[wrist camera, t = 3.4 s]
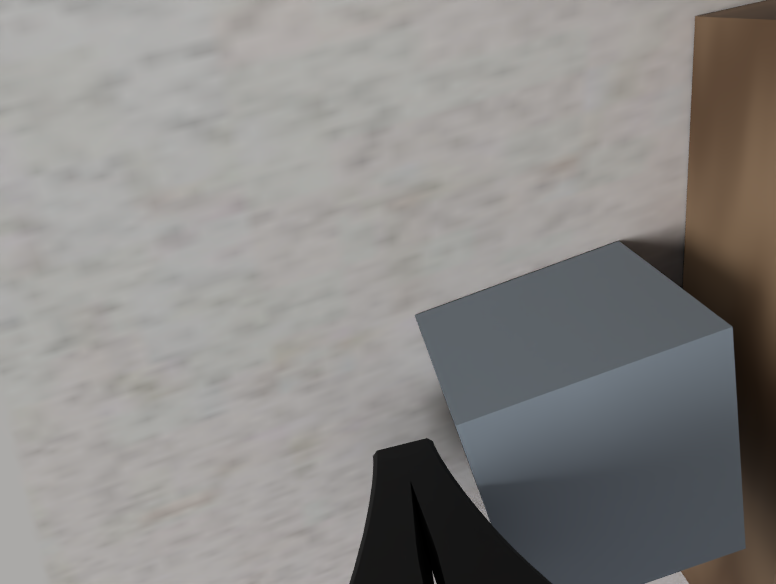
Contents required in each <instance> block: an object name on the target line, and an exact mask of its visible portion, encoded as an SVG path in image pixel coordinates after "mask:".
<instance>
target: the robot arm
mask: <svg viewBox="0 0 776 584" xmlns="http://www.w3.org/2000/svg"><path fill="white" fill-rule="evenodd" d="M432 571H433V573H432ZM433 574H434V577H435V580H436V583H437V584H552V583H551V582H550V581H549V580H548V579H546V578H545V577H544V576H543V575H542V574H541V573H540V572H539V571H538V570H536V569H535V568H534V567H533V566H532V565H531V564H530V563H529V562H528V561H527V560H526V559H525V558H524V557H522V556H521V555H520V554H519V553H518V552H517V551H516V550H515V549H514V548H513V547H512V546H511V545H510V544H509V543H508V542H507V541H506V540H505V539H504V538H503V536H502V535H501V534H500V533H499V532H498V531H497V530H496V529H495V528H494V527H493V526H492V524H491V523H490V522H489V521H488V520H487V519H486V518H485V517H484V515H483V514H482V513H481V512H480V511H479V510H478V508H477V507H476V506H475V505H474V503H473V502H472V501H471V500H470V498H469V497H468V496H467V495H466V493H465V492H464V491H463V489H462V488H461V487H460V485H459V484H458V483H457V481H456V480H455V479H454V477H453V476H452V474H451V473H450V471H449V470H448V468H447V467H446V465H445V464H444V462H443V460H442V459H441V457H440V455H439V453H438V452H437V450H436V448H435V446H434V443H433V441H431V440H429V439H428V438H426V439H422V440H418V441H414V442H410V443H406V444H402V445H398V446H394V447H390V448H386V449H382V450H378V451H376V453H375V454H374V455H373V480H372V489H371V496H370V502H369V508H368V513H367V518H366V523H365V528H364V533H363V537H362V541H361V544H360V548H359V552H358V556H357V560H356V563H355V567H354V570H353V574H352V577H351V580H350V583H349V584H434V580H433Z"/></svg>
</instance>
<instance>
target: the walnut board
mask: <svg viewBox="0 0 776 584" xmlns="http://www.w3.org/2000/svg"><path fill="white" fill-rule="evenodd" d="M683 290H685V291H686V292H687V293H689V294H690V295H691V296H693V297H694V298H695V299H697V300H698V301H699V302H701V303H702V304H703V305H705V306H706V307H707V308H708V309H710V310H711V311H712V312H714V313H715V314H716V315H718V316H719V317H720V318H722V319H723V320H724V321H726V322H727V323H728V324H730V325H731V326H732V327H733V342H734V359H735V376H736V393H737V409H738V426H739V443H740V460H741V477H742V494H743V511H744V528H745V545H746V549H743V550H740V551H737V552H734V553H731V554H728V555H725V556H723V557H720V558H717V559H714V560H711V561H708V562H705V563H702V564H699V565H697V566H694V567H691V568H688V569H685V570H682V571H681V572H682V574H683V575H684V577H685V578H686V580H687V581H688V583H689V584H776V0H766V1H761V2H757V3H753V4H748V5H744V6H739V7H735V8H730V9H726V10H721V11H717V12H713V13H708V14H704V15H699V16H695V34H694V56H693V77H692V99H691V120H690V142H689V163H688V185H687V206H686V228H685V249H684V271H683Z"/></svg>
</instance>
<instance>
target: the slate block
mask: <svg viewBox="0 0 776 584" xmlns="http://www.w3.org/2000/svg"><path fill="white" fill-rule="evenodd" d="M415 317H416V320H417V322H418V325H419V328H420V331H421V333H422V336H423V339H424V342H425V344H426V347H427V350H428V353H429V355H430V358H431V361H432V364H433V366H434V369H435V372H436V375H437V377H438V380H439V383H440V386H441V388H442V391H443V394H444V396H445V399H446V402H447V405H448V407H449V410H450V413H451V416H452V418H453V421H454V424H455V427H456V429H457V432H458V435H459V438H460V440H461V443H462V446H463V449H464V451H465V454H466V457H467V460H468V462H469V465H470V468H471V470H472V473H473V476H474V479H475V481H476V484H477V487H478V490H479V492H480V495H481V498H482V501H483V503H484V506H485V509H486V511H487V514H488V517H489V520H490V522H491V524H492V526H493V527H494V528H495V529H496V530H497V531H498V532H499V533H500V534H501V535H502V536H503V538H504V539H505V540H506V541H507V542H508V543H509V544H510V545H511V546H512V547H513V548H514V549H515V550H516V551H517V552H518V553H519V554H520V555H521V556H522V557H524V558H525V559H526V560H527V561H528V562H529V563H530V564H531V565H532V566H533V567H534V568H535V569H536V570H538V571H539V572H540V573H541V574H542V575H543V576H544V577H545V578H546V579H548V580H549V581H550V582H551V583H552V584H645V583H648V582H650V581H653V580H656V579H659V578H662V577H665V576H668V575H671V574H674V573H676V572H679V571H682V570H685V569H688V568H691V567H694V566H697V565H699V564H702V563H705V562H708V561H711V560H714V559H717V558H720V557H723V556H725V555H728V554H731V553H734V552H737V551H740V550H743V549H746V545H745V528H744V511H743V494H742V477H741V460H740V443H739V426H738V409H737V393H736V376H735V359H734V342H733V327H732V326H731V325H730V324H728V323H727V322H726V321H724V320H723V319H722V318H720V317H719V316H718V315H716V314H715V313H714V312H712V311H711V310H710V309H708V308H707V307H706V306H705V305H703V304H702V303H701V302H699V301H698V300H697V299H695V298H694V297H693V296H691V295H690V294H689V293H687V292H686V291H685V290H683V289H682V288H681V287H679V286H678V285H677V284H675V283H674V282H673V281H671V280H670V279H669V278H667V277H666V276H665V275H663V274H662V273H661V272H659V271H658V270H657V269H655V268H654V267H653V266H651V265H650V264H649V263H648V262H646V261H645V260H644V259H642V258H641V257H640V256H638V255H637V254H636V253H634V252H633V251H632V250H630V249H629V248H628V247H626V246H625V245H624V244H622V243H621V242H620V241H618V242H615V243H612V244H609V245H607V246H604V247H601V248H598V249H596V250H593V251H590V252H587V253H585V254H582V255H579V256H576V257H574V258H571V259H568V260H565V261H563V262H560V263H557V264H554V265H552V266H549V267H546V268H543V269H541V270H538V271H535V272H532V273H530V274H527V275H524V276H521V277H519V278H516V279H513V280H510V281H508V282H505V283H502V284H499V285H497V286H494V287H491V288H488V289H486V290H483V291H480V292H477V293H475V294H472V295H469V296H467V297H464V298H461V299H458V300H456V301H453V302H450V303H447V304H445V305H442V306H439V307H436V308H434V309H431V310H428V311H425V312H423V313H420V314H417V315H415Z"/></svg>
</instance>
